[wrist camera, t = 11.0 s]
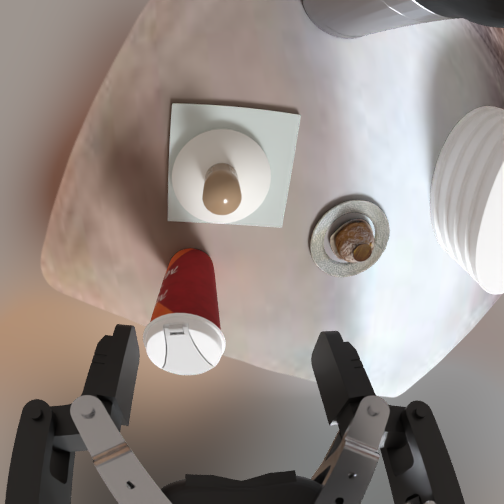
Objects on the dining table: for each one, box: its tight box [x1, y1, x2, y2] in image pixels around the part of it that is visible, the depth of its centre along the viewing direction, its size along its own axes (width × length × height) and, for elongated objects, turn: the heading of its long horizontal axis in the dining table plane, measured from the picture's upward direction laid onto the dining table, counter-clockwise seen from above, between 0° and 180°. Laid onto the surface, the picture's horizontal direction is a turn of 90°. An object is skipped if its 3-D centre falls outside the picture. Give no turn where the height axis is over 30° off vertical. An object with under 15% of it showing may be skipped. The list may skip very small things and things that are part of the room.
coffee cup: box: [143, 248, 226, 375], centre depth 33 cm, size 8×8×15 cm
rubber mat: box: [168, 103, 301, 228], centre depth 33 cm, size 14×14×1 cm
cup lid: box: [172, 129, 271, 224], centre depth 30 cm, size 11×11×7 cm
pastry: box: [310, 200, 390, 277], centre depth 38 cm, size 12×12×5 cm
